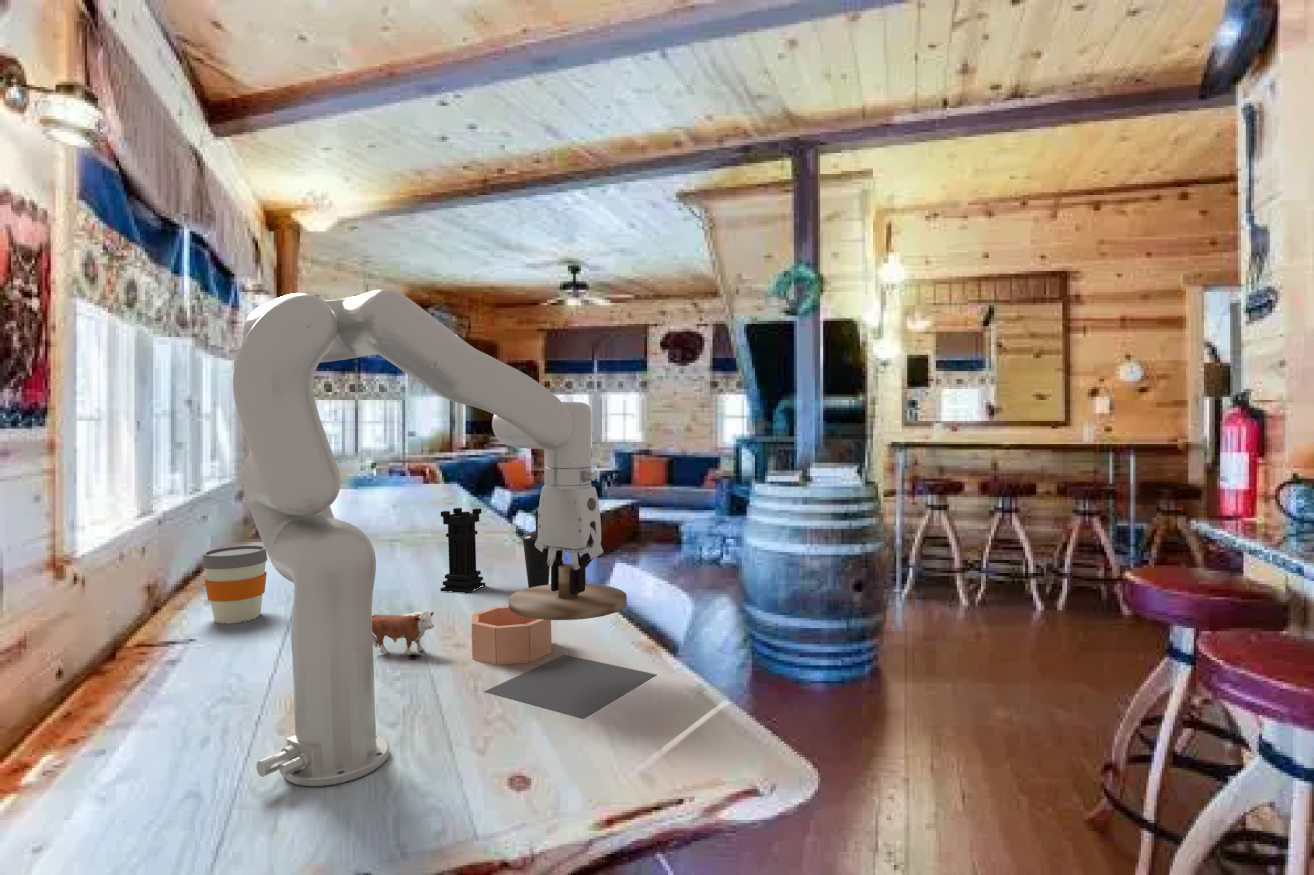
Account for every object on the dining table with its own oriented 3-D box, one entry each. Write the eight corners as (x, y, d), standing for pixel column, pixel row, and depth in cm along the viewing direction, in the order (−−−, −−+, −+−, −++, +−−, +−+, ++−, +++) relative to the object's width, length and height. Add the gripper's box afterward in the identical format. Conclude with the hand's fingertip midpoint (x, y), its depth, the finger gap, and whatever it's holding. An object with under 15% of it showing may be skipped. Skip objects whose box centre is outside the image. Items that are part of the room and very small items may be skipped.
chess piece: (440, 591, 184) (438, 512, 183) (458, 584, 191) (456, 507, 191) (468, 593, 181) (466, 512, 181) (485, 585, 189) (483, 508, 188)
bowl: (513, 671, 127) (512, 631, 127) (456, 657, 135) (455, 620, 135) (566, 648, 139) (565, 611, 139) (510, 636, 147) (509, 601, 147)
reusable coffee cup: (266, 621, 160) (263, 553, 159) (199, 628, 155) (196, 558, 155) (272, 607, 172) (270, 543, 171) (210, 613, 167) (207, 548, 166)
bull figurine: (430, 658, 135) (429, 614, 134) (364, 654, 137) (363, 611, 137) (442, 650, 139) (441, 608, 139) (378, 647, 142) (376, 605, 141)
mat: (583, 721, 107) (583, 718, 107) (484, 694, 117) (483, 691, 117) (656, 677, 124) (656, 674, 124) (564, 657, 134) (564, 654, 134)
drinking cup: (519, 588, 185) (517, 509, 185) (548, 585, 189) (547, 507, 188) (527, 595, 178) (525, 513, 178) (557, 591, 182) (556, 511, 181)
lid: (578, 627, 106) (578, 584, 106) (483, 608, 117) (483, 569, 116) (648, 599, 123) (649, 562, 122) (560, 585, 133) (560, 551, 132)
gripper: (622, 479, 118) (622, 593, 118) (544, 474, 126) (544, 580, 127) (594, 482, 111) (594, 603, 112) (514, 477, 120) (514, 589, 121)
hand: (568, 590), depth 119 cm, fingers closed on lid, 3 cm apart
